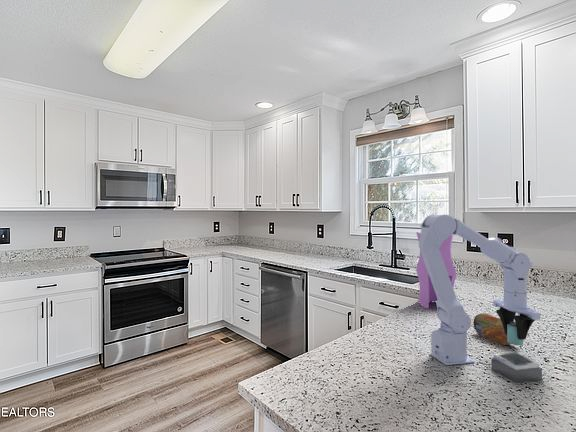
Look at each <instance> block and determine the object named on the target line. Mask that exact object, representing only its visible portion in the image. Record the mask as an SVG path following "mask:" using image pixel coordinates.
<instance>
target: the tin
mask: <svg viewBox="0 0 576 432" xmlns="http://www.w3.org/2000/svg"><path fill="white" fill-rule="evenodd" d="M472 323H473V324H472V325H473V328H474V330H475V332H476V334H477V335H478V336H480V337H481V338H484V339H486V340H489V341H492V342H494V343H497V344H500V345H504V346H509V345H511V344H510V343H508V342H507V334H505V331H504V328H503V324H502V322H501V319H500V317H499V316H496V315H493V314H489V313H478V314H476V315H475V316H474V318H473V322H472Z"/></svg>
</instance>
